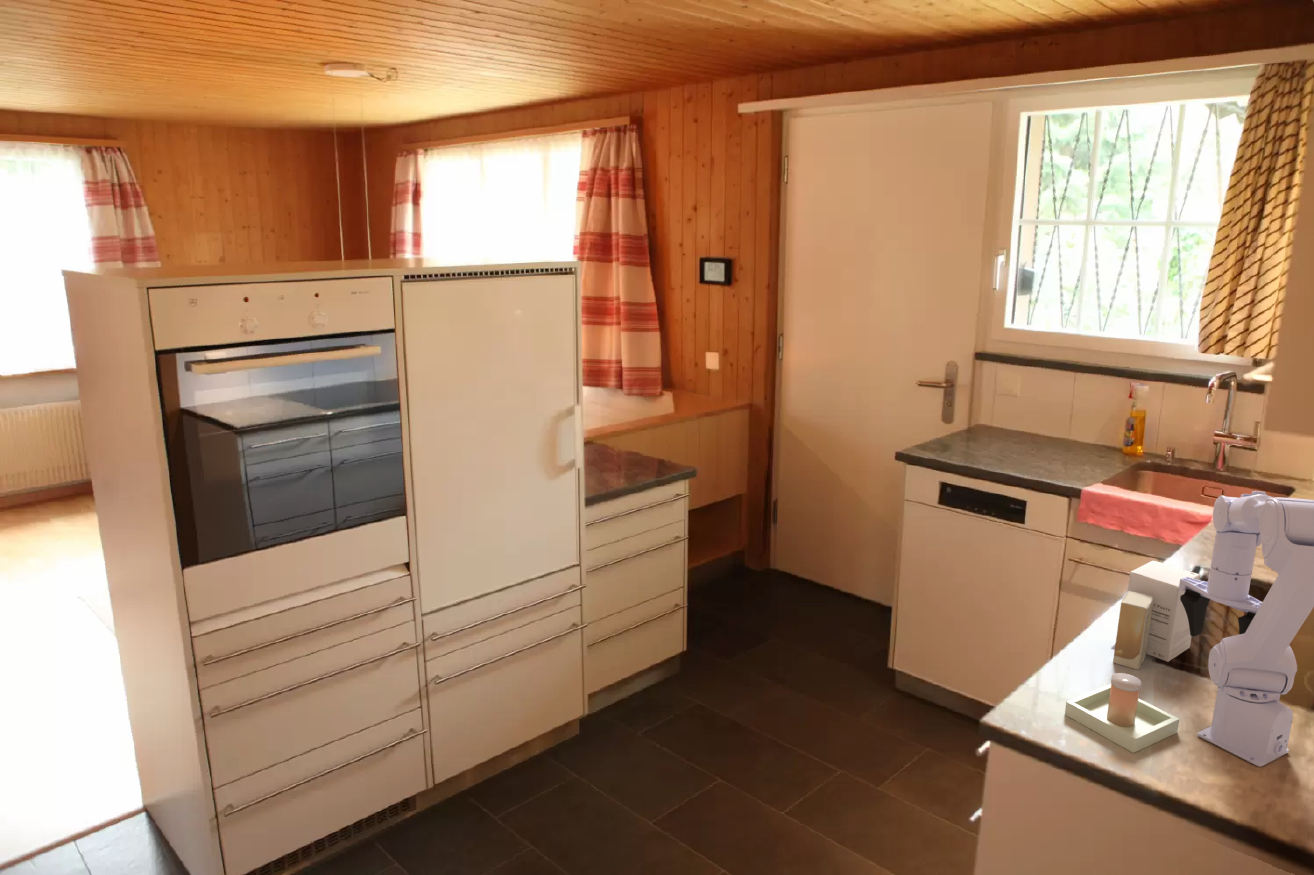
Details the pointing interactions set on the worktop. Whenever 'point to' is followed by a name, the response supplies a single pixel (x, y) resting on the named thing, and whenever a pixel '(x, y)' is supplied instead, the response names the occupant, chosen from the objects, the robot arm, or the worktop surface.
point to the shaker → (1123, 699)
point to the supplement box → (1164, 608)
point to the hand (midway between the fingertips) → (1218, 644)
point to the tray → (1145, 731)
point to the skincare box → (1133, 629)
